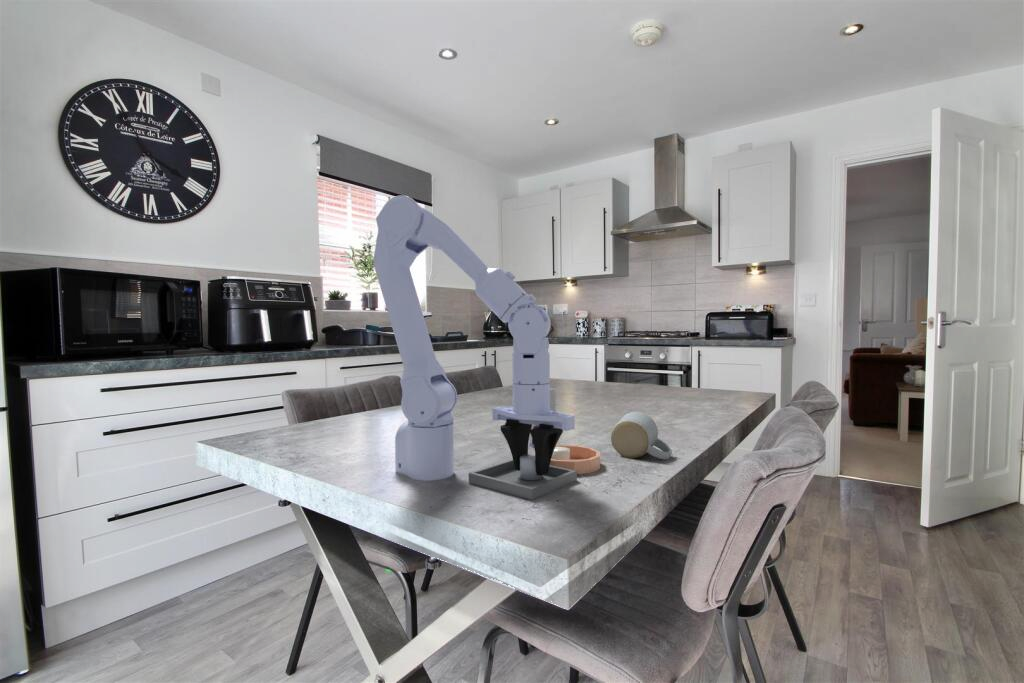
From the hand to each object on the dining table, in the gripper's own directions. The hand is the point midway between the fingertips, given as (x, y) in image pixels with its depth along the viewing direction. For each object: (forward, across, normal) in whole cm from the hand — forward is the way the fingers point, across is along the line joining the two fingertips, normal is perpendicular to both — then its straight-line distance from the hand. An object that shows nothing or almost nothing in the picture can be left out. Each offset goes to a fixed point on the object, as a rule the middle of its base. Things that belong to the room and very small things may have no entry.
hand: (531, 471), depth 73 cm
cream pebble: (+1, 0, -7) cm, 7 cm away
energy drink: (+2, +12, -19) cm, 22 cm away
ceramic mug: (+2, -6, -26) cm, 27 cm away
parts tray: (+2, 0, +2) cm, 3 cm away
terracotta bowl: (+2, 0, -10) cm, 10 cm away
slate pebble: (+1, 0, 0) cm, 1 cm away
